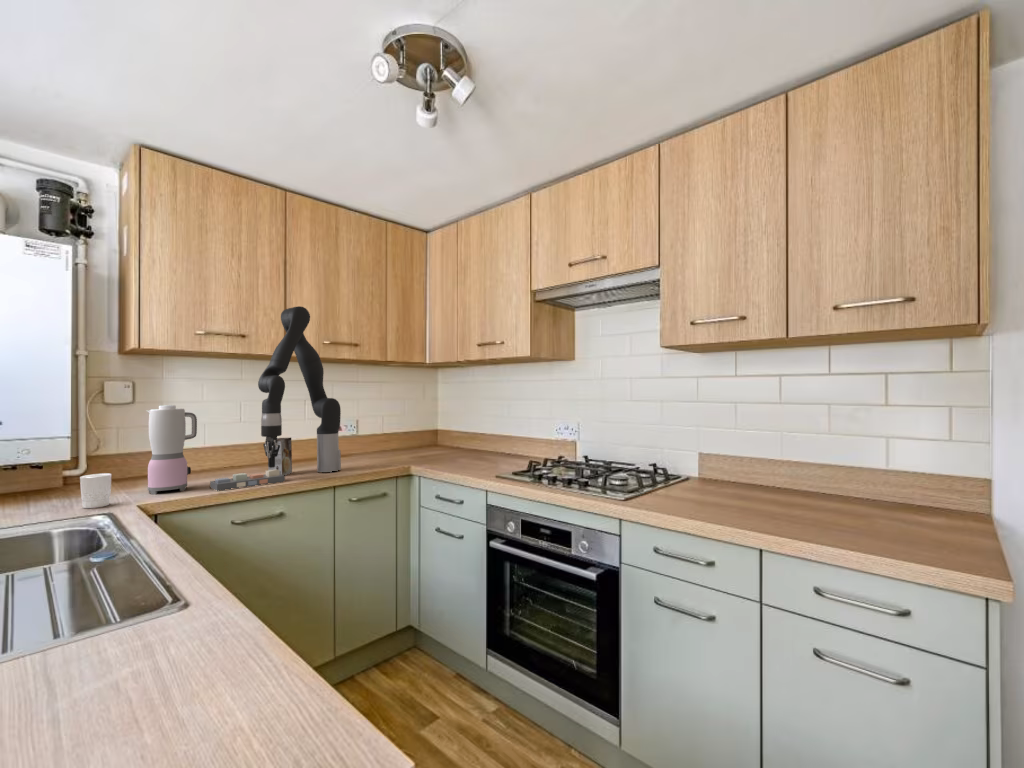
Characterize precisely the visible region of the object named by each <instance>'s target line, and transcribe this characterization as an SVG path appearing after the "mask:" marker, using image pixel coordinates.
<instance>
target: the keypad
mask: <svg viewBox="0 0 1024 768" xmlns="http://www.w3.org/2000/svg"><path fill="white" fill-rule="evenodd" d="M263 475H264V477H262V478H254V479H251V478H250V475H249V476H248V475H247V479H246V480H238V481H234V480H233V477H232V478H229V479H230V482H223V483H216V482H215V480H210V482H209V483H210V485H209V486H210V487H211V488H210V487H209V488H210V489H212V488H213V489H212V490H214V489H215V490H214V491H216V490H217V491H216V492H219V491H218V490H222V491H226V490H225V489H229V490H232V489H231V488H236V489H240V488H239V487H244V488H248V487H247V486H251V487H256V486H255V485H258V486H262V485H261V484H265V485H269V484H268V483H273V484H277V483H276V482H280V483H284V482H283V481H285V482H286V480H285V479H286V475H285V476H284V475H281V474H279V475H278V476H270V477H268V476H266V473H265V474H263Z"/></svg>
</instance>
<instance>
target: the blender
mask: <svg viewBox="0 0 1024 768" xmlns="http://www.w3.org/2000/svg"><path fill="white" fill-rule="evenodd" d="M146 412H147V413H148V414H149V415H148V439H149V444H150V449H151V458H150V459H149V462H148V465H147V491H148V493H150V494H151V495H157V494H158V492H161V491H162V492H163V491H171V490H173V491H174V490H178V489H179V492H184V491H186V487H188V475H191V473H192V472H191V471H192V468H191V466H188V461H187V459H186V457H185V456H184V446H185V441H186V440H191V439H194V438H196V437H197V433H198V419H197V418H198V417H197V415H196V414H195V413H193V412H190V411H189V412H188V411H187V412H186V409H185V408H176V405H175V404H174V405H172V404H171V405H159V406H158V409H150V410H146ZM186 418H191V433H190V434H186V427H187V426H186V424H187V423H186ZM183 490H184V491H183Z"/></svg>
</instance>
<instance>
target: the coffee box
mask: <svg viewBox="0 0 1024 768" xmlns="http://www.w3.org/2000/svg"><path fill="white" fill-rule="evenodd" d="M277 441H278V445H280V448H279V452H278V455H277V457H276V458H275V467H271V468H270V467H268V466H267V467H268V469H267V470H274V469H277V470H279V474H281V475H285V476H287V474H288V475H290V473H291V474H292V473H293V462H292V461H293V459H292V458H293V457H292V456H293V454H292V451H293V450H292V445H293V444H292V437H277Z"/></svg>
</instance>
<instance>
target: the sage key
mask: <svg viewBox="0 0 1024 768" xmlns="http://www.w3.org/2000/svg"><path fill="white" fill-rule="evenodd" d="M247 477H248V473H245V472H243V473H233V474H232V478H233V480H234V481H238V480H246V479H247Z"/></svg>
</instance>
